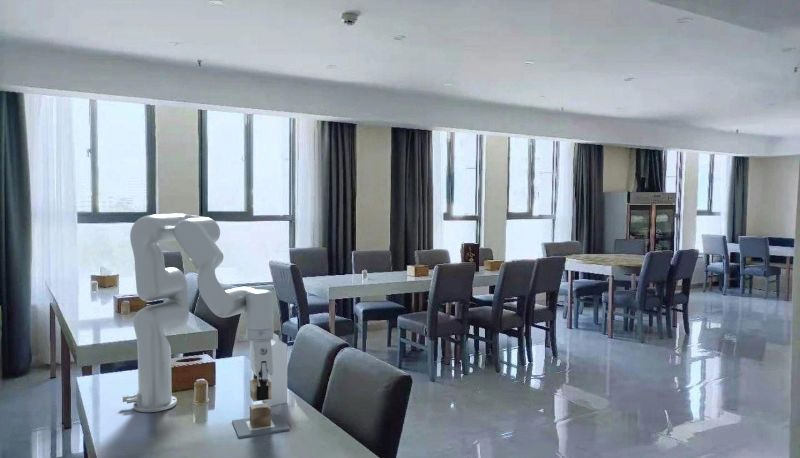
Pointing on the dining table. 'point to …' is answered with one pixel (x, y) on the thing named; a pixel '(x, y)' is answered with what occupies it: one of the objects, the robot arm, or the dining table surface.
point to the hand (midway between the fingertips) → (260, 395)
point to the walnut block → (260, 415)
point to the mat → (246, 430)
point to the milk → (278, 373)
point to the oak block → (254, 389)
